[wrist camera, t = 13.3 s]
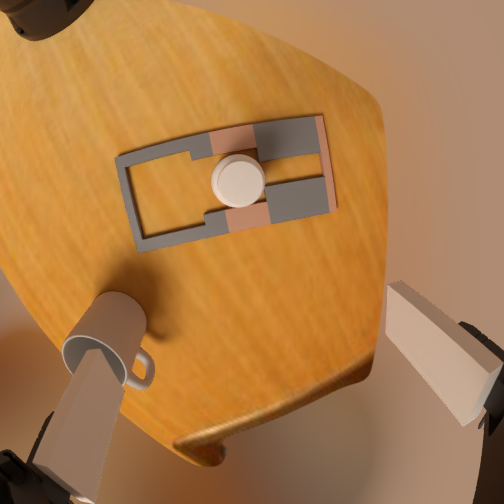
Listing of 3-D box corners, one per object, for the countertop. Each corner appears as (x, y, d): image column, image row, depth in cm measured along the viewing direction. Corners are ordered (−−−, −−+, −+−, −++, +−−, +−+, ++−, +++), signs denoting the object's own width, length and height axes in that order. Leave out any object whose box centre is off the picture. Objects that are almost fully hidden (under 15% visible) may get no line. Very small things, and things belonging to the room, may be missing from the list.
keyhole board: (116, 157, 30) (114, 157, 29) (319, 116, 31) (322, 115, 30) (139, 251, 34) (138, 253, 33) (334, 210, 35) (337, 211, 34)
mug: (82, 314, 35) (50, 358, 25) (113, 278, 34) (80, 319, 24) (143, 365, 39) (128, 417, 28) (177, 335, 38) (168, 389, 27)
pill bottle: (204, 169, 32) (198, 171, 23) (243, 147, 31) (252, 141, 23) (226, 208, 33) (229, 223, 25) (265, 186, 33) (281, 194, 25)
